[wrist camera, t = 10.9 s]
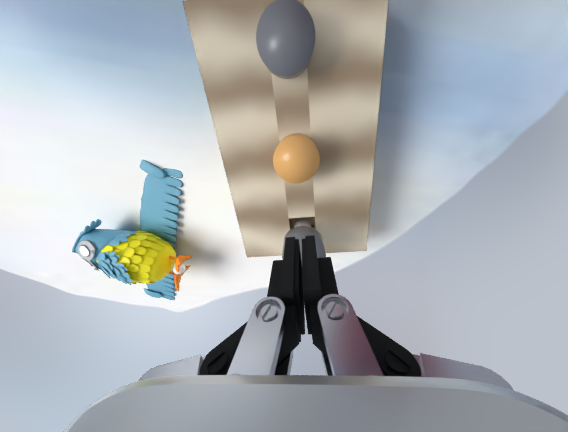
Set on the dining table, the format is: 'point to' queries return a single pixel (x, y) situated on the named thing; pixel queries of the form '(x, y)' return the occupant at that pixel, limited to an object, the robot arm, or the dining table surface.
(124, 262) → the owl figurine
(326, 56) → the console
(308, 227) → the knob
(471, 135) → the dining table surface
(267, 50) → the knob
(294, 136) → the knob mid
